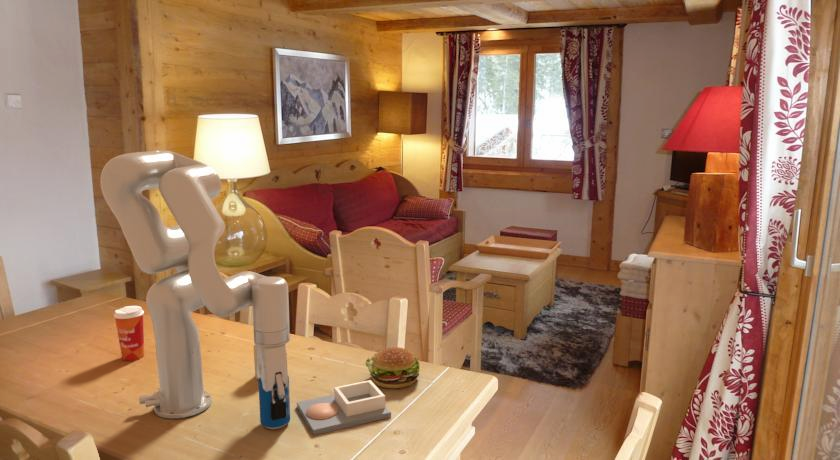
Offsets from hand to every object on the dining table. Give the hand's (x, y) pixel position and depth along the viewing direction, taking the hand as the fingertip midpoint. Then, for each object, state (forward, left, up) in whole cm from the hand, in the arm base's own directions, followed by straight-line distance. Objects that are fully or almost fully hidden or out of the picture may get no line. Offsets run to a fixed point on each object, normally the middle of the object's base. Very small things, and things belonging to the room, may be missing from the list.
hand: (274, 410), depth 137 cm
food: (+32, +10, -4) cm, 34 cm away
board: (+15, -1, -3) cm, 16 cm away
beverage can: (0, 0, -3) cm, 3 cm away
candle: (+3, +26, -4) cm, 26 cm away
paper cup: (-28, +55, -4) cm, 61 cm away
